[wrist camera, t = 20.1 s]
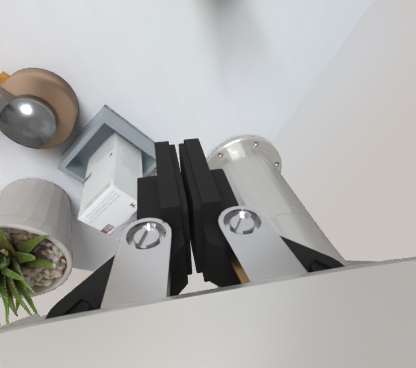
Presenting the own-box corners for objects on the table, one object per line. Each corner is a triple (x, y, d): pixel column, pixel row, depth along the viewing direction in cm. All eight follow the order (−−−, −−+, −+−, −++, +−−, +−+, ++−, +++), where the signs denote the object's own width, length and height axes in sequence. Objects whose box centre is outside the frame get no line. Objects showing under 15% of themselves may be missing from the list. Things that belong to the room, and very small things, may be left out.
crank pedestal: (92, 100, 36) (88, 113, 33) (55, 145, 39) (48, 161, 36) (21, 47, 32) (9, 56, 29) (-17, 101, 34) (-32, 115, 31)
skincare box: (116, 127, 38) (111, 181, 29) (143, 148, 41) (146, 203, 31) (87, 158, 40) (72, 219, 31) (114, 176, 43) (109, 237, 33)
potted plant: (100, 177, 43) (81, 300, 27) (68, 241, 49) (37, 374, 33) (0, 142, 37) (-99, 273, 21) (-23, 220, 43) (-114, 368, 27)
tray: (161, 147, 42) (163, 159, 39) (120, 188, 45) (119, 203, 42) (105, 104, 37) (102, 115, 34) (62, 154, 40) (57, 168, 37)
